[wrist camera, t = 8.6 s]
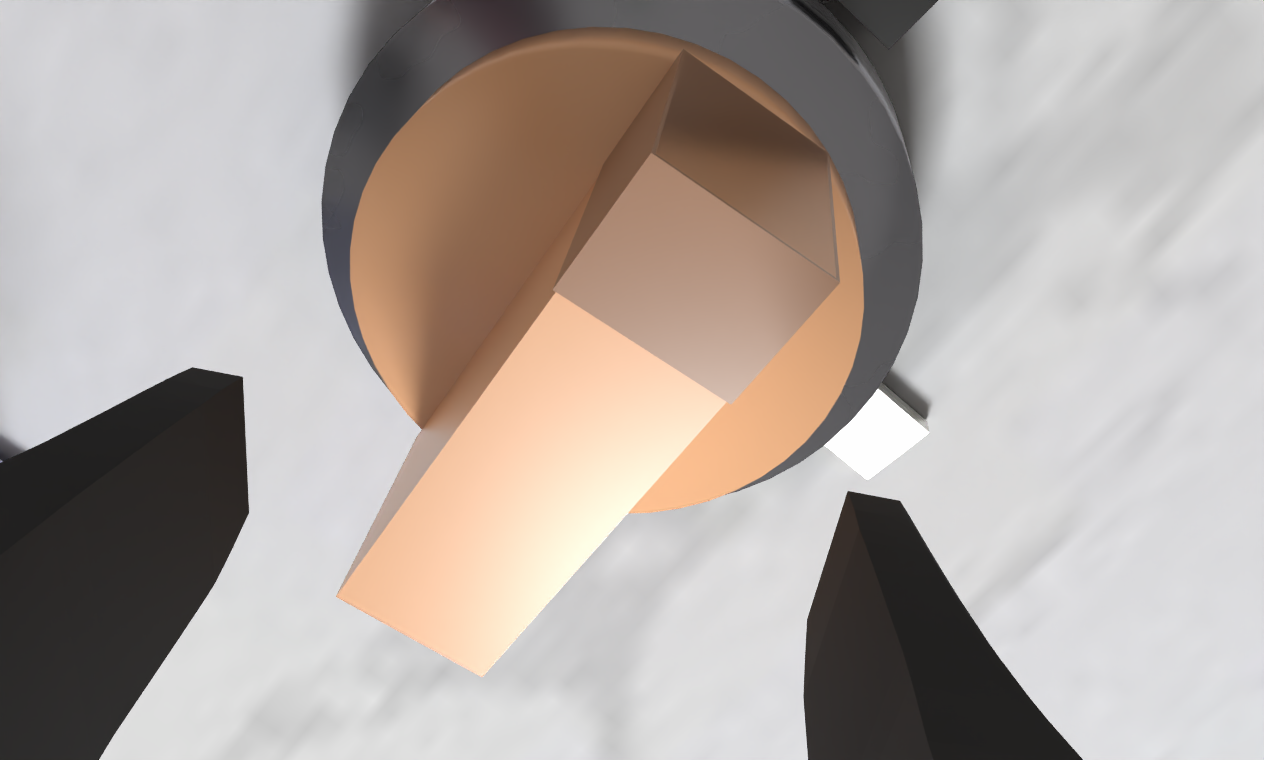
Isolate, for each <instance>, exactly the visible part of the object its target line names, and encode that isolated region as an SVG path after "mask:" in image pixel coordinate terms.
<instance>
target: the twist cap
mask: <svg viewBox="0 0 1264 760" xmlns="http://www.w3.org/2000/svg"><path fill="white" fill-rule="evenodd" d="M350 282H351V288H352V295H353V302H354V308H355V312H356V316H357V319H358V323H359V326H360V330H361V333H362V337H363V339H364V342H365V344H366V346H367V349H368V351H369V353H370V356H371V358H372V360H373V362H374V365H375V367H376V368H377V370H378V372H379V373H380V375H381V377H382V378H383V380H384V382H385V383H386V385H387V387H388V389H389V390H390V392H391V393H392V394H393V396H394V397H395V398H396V400H397V401H398V402H399V404H400V405H401V406H402V407H403V409H404V410H405V411H406V413H407V414H408V415H409V416H410V417H411V418H412V419H413V420H414V421H415V423H416V424H417V425H418V426H419V427H420V428H421V429H422V430H421V432H420V433H419V435H418V436H417V438H416V440H415V442H414V444H413V446H412V448H411V449H410V451H409V453H408V455H407V457H406V459H405V461H404V463H403V465H402V467H401V469H400V471H399V473H398V475H397V477H396V479H395V481H394V483H393V485H392V487H391V489H390V491H389V493H388V495H387V497H386V499H385V501H384V503H383V505H382V507H381V509H380V511H379V513H378V515H377V517H376V518H375V520H374V522H373V524H372V526H371V528H370V530H369V532H368V534H367V536H366V538H365V540H364V542H363V544H362V546H361V548H360V550H359V552H358V554H357V556H356V558H355V560H354V562H353V564H352V566H351V568H350V570H349V572H348V574H347V576H346V578H345V580H344V582H343V584H342V586H341V587H340V589H339V591H338V593H337V595H336V597H337V598H339V599H341V600H343V601H344V602H346V603H348V604H350V605H352V606H354V607H355V608H357V609H359V610H361V611H363V612H364V613H366V614H368V615H370V616H372V617H373V618H375V619H377V620H379V621H381V622H383V623H384V624H386V625H388V626H390V627H392V628H393V629H395V630H397V631H399V632H401V633H403V634H404V635H406V636H408V637H410V638H412V639H413V640H415V641H417V642H419V643H421V644H422V645H424V646H426V647H428V648H430V649H432V650H433V651H435V652H437V653H439V654H441V655H442V656H444V657H446V658H448V659H450V660H452V661H453V662H455V663H457V664H459V665H461V666H462V667H464V668H466V669H468V670H470V671H471V672H473V673H475V674H477V675H479V676H481V677H483V676H484V675H485V674H486V672H487V671H488V670H489V669H490V668H491V667H492V666H493V664H494V663H495V662H496V661H497V660H498V659H499V658H500V657H501V655H502V654H503V653H504V652H505V651H506V650H507V649H508V648H509V646H510V645H511V644H512V643H513V642H514V641H515V640H516V639H517V637H518V636H519V635H520V634H521V633H522V632H523V631H524V630H525V628H526V627H527V626H528V625H529V624H530V623H531V622H532V621H533V619H534V618H535V617H536V616H537V615H538V614H539V613H540V612H541V610H542V609H543V608H544V607H545V606H546V605H547V604H548V603H549V601H550V600H551V599H552V598H553V597H554V596H555V595H556V594H557V592H558V591H559V590H560V589H561V588H562V587H563V586H564V584H565V583H566V582H567V581H568V580H569V579H570V578H571V577H572V575H573V574H574V573H575V572H576V571H577V570H578V569H579V568H580V566H581V565H582V564H583V563H584V562H585V561H586V560H587V559H588V557H589V556H590V555H591V554H592V553H593V552H594V551H595V550H596V548H597V547H598V546H599V545H600V544H601V543H602V542H603V541H604V539H605V538H606V537H607V536H608V535H609V534H610V533H611V532H612V530H613V529H614V528H615V527H616V526H617V525H618V524H619V523H620V521H621V520H622V519H623V518H624V517H625V516H626V515H627V514H628V513H650V512H658V511H665V510H672V509H679V508H683V507H687V506H691V505H695V504H699V503H703V502H707V501H710V500H712V499H715V498H717V497H720V496H723V495H725V494H728V493H731V492H733V491H736V490H737V489H739V488H741V487H743V486H745V485H747V484H749V483H751V482H753V481H755V480H757V479H758V478H760V477H762V476H763V475H765V474H766V473H768V472H769V471H771V470H772V469H773V468H775V467H776V466H778V465H779V464H781V463H782V462H784V461H785V460H786V459H787V458H788V457H789V456H790V455H791V454H793V453H794V452H795V451H796V450H797V449H798V448H799V447H800V446H801V445H803V444H804V443H805V442H806V441H807V440H808V438H809V437H810V436H811V435H812V434H813V432H814V431H815V430H816V429H817V428H818V427H819V425H820V424H821V423H822V422H823V421H824V419H825V418H826V416H827V415H828V413H829V412H830V410H831V408H832V407H833V405H834V404H835V402H836V400H837V399H838V397H839V396H840V394H841V392H842V389H843V387H844V385H845V383H846V380H847V378H848V376H849V374H850V371H851V369H852V367H853V363H854V359H855V356H856V352H857V349H858V345H859V341H860V337H861V329H862V320H863V312H864V291H863V272H862V264H861V256H860V248H859V241H858V235H857V230H856V224H855V219H854V213H853V210H852V207H851V204H850V201H849V198H848V195H847V192H846V189H845V186H844V183H843V181H842V179H841V177H840V175H839V173H838V171H837V169H836V167H835V165H834V163H833V161H832V159H831V157H830V155H829V153H828V152H827V150H826V149H825V147H824V146H823V144H822V143H821V141H820V140H819V139H818V137H817V136H816V134H815V133H814V131H813V130H812V128H811V127H810V126H809V124H808V123H807V122H806V121H805V120H804V119H803V118H802V117H801V116H800V115H799V114H798V112H797V111H796V110H795V109H794V108H793V107H792V106H791V105H790V104H789V103H788V102H787V100H785V99H784V98H783V97H782V96H781V95H779V94H778V93H777V92H776V91H775V90H773V89H772V88H771V87H770V86H768V85H767V84H766V83H765V82H764V81H762V80H761V79H760V78H759V77H757V76H756V75H754V74H752V73H751V72H749V71H748V70H746V69H744V68H743V67H741V66H740V65H738V64H736V63H735V62H733V61H732V60H730V59H728V58H726V57H724V56H721V55H719V54H717V53H715V52H713V51H710V50H708V49H706V48H704V47H702V46H699V45H697V44H694V43H691V42H688V41H684V40H681V39H678V38H675V37H671V36H668V35H665V34H661V33H655V32H649V31H643V30H636V29H630V28H613V27H585V28H576V29H566V30H557V31H552V32H548V33H544V34H540V35H536V36H532V37H528V38H524V39H521V40H519V41H516V42H514V43H511V44H509V45H506V46H504V47H502V48H499V49H497V50H494V51H492V52H490V53H488V54H487V55H485V56H483V57H481V58H480V59H478V60H476V61H475V62H473V63H471V64H469V65H468V66H466V67H464V68H463V69H462V70H460V71H459V72H458V73H457V74H455V75H454V76H453V77H452V78H450V79H449V80H448V81H447V82H445V83H444V84H443V85H442V86H440V87H439V88H438V89H437V90H436V91H435V92H434V93H433V94H432V96H431V97H430V98H429V99H428V100H427V101H426V102H425V103H424V104H423V105H422V106H421V107H420V109H419V110H418V111H417V112H416V113H415V114H414V115H413V116H412V117H411V118H410V120H409V121H408V122H407V123H406V124H405V125H404V126H403V127H402V128H401V129H400V131H399V132H398V133H397V134H396V135H395V136H394V137H393V139H392V140H391V142H390V143H389V145H388V146H387V148H386V149H385V151H384V152H383V154H382V155H381V157H380V158H379V160H378V161H377V162H376V164H375V166H374V169H373V171H372V173H371V175H370V177H369V179H368V181H367V184H366V186H365V188H364V190H363V192H362V196H361V199H360V203H359V206H358V209H357V213H356V216H355V220H354V226H353V233H352V240H351V247H350Z"/></svg>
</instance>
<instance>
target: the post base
mask: <svg viewBox="0 0 1264 760" xmlns="http://www.w3.org/2000/svg"><path fill="white" fill-rule="evenodd" d="M838 1H839V2H840V3H841V4H842V5H844V6H845V7H846V8H847V9H848V10H849V11H850V12H851V13H852V14H853V15H854V16H855V17H856V18H857V19H858V20H859V21H860V22H861V23H862V24H863V25H864V26H865V27H866V28H867V29H868V30H869V31H870V32H871V33H872V34H873V35H874V36H875V37H876V38H877V39H878V40H879V41H880V42H881V43H882V44H884V45H885V46H886V47H887V48H888V49H890V48H891V47H892V46H893V45H894V44H895V43H896V42H897V41H898V40H899V39H900V38H901V37H902V36H903V35H904V34H905V33H906V32H907V31H908V30H909V29H910V28H911V27H912V26H913V25H914V24H915V23H916V22H917V21H918V20H919V19H920V18H921V17H922V16H923V15H924V14H925V13H926V12H927V11H928V10H929V9H930V8H931V7H932V6H933V5H934V4H935V3H936V2H937V1H938V0H838ZM585 27H613V28H630V29H636V30H643V31H649V32H655V33H661V34H665V35H668V36H671V37H675V38H678V39H681V40H684V41H688V42H691V43H694V44H697V45H699V46H702V47H704V48H706V49H708V50H710V51H713V52H715V53H717V54H719V55H721V56H724V57H726V58H728V59H730V60H732V61H733V62H735V63H736V64H738V65H740V66H741V67H743V68H744V69H746V70H748V71H749V72H751V73H752V74H754V75H756V76H757V77H759V78H760V79H761V80H762V81H764V82H765V83H766V84H767V85H768V86H770V87H771V88H772V89H773V90H775V91H776V92H777V93H778V94H779V95H781V96H782V97H783V98H784V99H785V100H787V102H788V103H789V104H790V105H791V106H792V107H793V108H794V109H795V110H796V111H797V112H798V114H799V115H800V116H801V117H802V118H803V119H804V120H805V121H806V122H807V123H808V124H809V126H810V127H811V128H812V130H813V131H814V133H815V134H816V136H817V137H818V139H819V140H820V141H821V143H822V144H823V146H824V147H825V149H826V150H827V152H828V153H829V155H830V157H831V159H832V161H833V163H834V165H835V167H836V169H837V171H838V173H839V175H840V177H841V179H842V181H843V183H844V186H845V189H846V192H847V195H848V198H849V201H850V204H851V207H852V210H853V213H854V219H855V224H856V230H857V235H858V241H859V248H860V256H861V264H862V272H863V291H864V312H863V320H862V329H861V337H860V341H859V345H858V349H857V352H856V356H855V359H854V363H853V367H852V369H851V371H850V374H849V376H848V378H847V380H846V383H845V385H844V387H843V389H842V392H841V394H840V396H839V397H838V399H837V400H836V402H835V404H834V405H833V407H832V408H831V410H830V412H829V413H828V415H827V416H826V418H825V419H824V421H823V422H822V423H821V424H820V425H819V427H818V428H817V429H816V430H815V431H814V432H813V434H812V435H811V436H810V437H809V438H808V440H807V441H806V442H805V443H804V444H803V445H801V446H800V447H799V448H798V449H797V450H796V451H795V452H794V453H793V454H791V455H790V456H789V457H788V458H787V459H786V460H785V461H784V462H782V463H781V464H779V465H778V466H776V467H775V468H773V469H772V470H771V471H769V472H768V473H766V474H765V475H763V476H762V477H760V478H758V479H757V480H755V481H753V482H751V483H749V484H747V485H745V486H743V487H741V488H739V489H737V490H736V491H733V492H737V491H740V490H742V489H745V488H747V487H750V486H753V485H755V484H758V483H760V482H763V481H765V480H768V479H770V478H772V477H774V476H776V475H778V474H779V473H781V472H783V471H785V470H787V469H789V468H791V467H793V466H794V465H796V464H798V463H800V462H801V461H803V460H804V459H806V458H807V457H808V456H810V455H811V454H813V453H814V452H815V451H817V450H818V449H820V448H821V447H823V446H824V445H825V446H827V447H828V448H829V449H830V450H831V451H833V452H834V453H835V454H836V455H837V456H839V457H840V458H841V459H842V460H844V461H845V462H846V463H847V464H848V465H850V466H851V467H852V468H853V469H854V470H856V471H857V472H858V473H859V474H861V475H862V476H863V477H864V478H865V479H867V480H868V479H870V478H871V477H872V476H874V475H875V474H876V473H877V472H879V471H880V470H881V469H883V468H884V467H885V466H887V465H888V464H889V463H891V462H892V461H893V460H894V459H896V458H897V457H898V456H900V455H901V454H902V453H904V452H905V451H906V450H908V449H909V448H910V447H911V446H913V445H914V444H915V443H917V442H918V441H919V440H921V439H922V438H923V437H925V436H926V435H927V434H928V433H929V429H928V423H927V421H926V420H925V419H924V418H923V417H921V416H920V415H919V414H918V413H917V412H916V411H914V410H913V409H912V408H911V407H910V406H909V405H908V404H906V403H905V402H904V401H903V400H902V399H901V398H899V397H898V396H897V395H896V394H895V393H894V392H892V391H891V390H890V389H889V388H888V387H887V386H885V385H884V384H883V383H882V381H883V380H884V378H885V377H886V375H887V373H888V372H889V370H890V369H891V367H892V365H893V364H894V361H895V359H896V357H897V355H898V353H899V350H900V348H901V346H902V344H903V341H904V339H905V337H906V335H907V332H908V329H909V326H910V322H911V319H912V315H913V312H914V308H915V305H916V301H917V298H918V291H919V283H920V276H921V268H922V261H923V259H922V220H921V214H920V208H919V202H918V195H917V189H916V184H915V180H914V176H913V172H912V168H911V164H910V161H909V157H908V153H907V149H906V145H905V141H904V138H903V135H902V132H901V129H900V126H899V122H898V119H897V116H896V113H895V110H894V107H893V104H892V102H891V100H890V98H889V96H888V94H887V92H886V90H885V88H884V86H883V84H882V81H881V79H880V77H879V75H878V73H877V71H876V70H875V68H874V67H873V65H872V64H871V62H870V61H869V59H868V58H867V56H866V55H865V53H864V52H863V50H862V49H861V47H860V46H859V44H858V43H857V41H856V40H855V39H854V38H853V36H852V35H851V34H850V33H849V32H848V31H847V30H846V29H845V28H844V26H843V25H842V24H841V23H840V22H839V21H838V20H837V19H836V17H835V16H834V15H833V14H832V13H831V12H830V11H829V10H828V9H827V8H826V7H825V6H824V5H822V4H821V3H820V2H819V1H818V0H433V1H432V2H431V3H430V4H429V5H427V6H426V7H425V8H424V9H423V10H422V11H420V12H419V13H418V14H417V15H416V16H415V17H414V18H412V19H411V20H410V21H409V22H408V23H407V24H406V25H404V26H403V27H402V28H401V29H400V30H399V31H398V32H396V33H395V34H394V35H393V36H392V38H391V39H390V40H389V41H388V42H387V44H386V45H385V46H384V47H383V48H382V49H381V51H380V52H379V53H378V54H377V55H376V57H375V58H374V59H373V60H372V61H371V63H370V64H369V65H368V67H367V68H366V70H365V72H364V73H363V75H362V77H361V78H360V80H359V81H358V83H357V85H356V86H355V88H354V90H353V91H352V93H351V94H350V96H349V98H348V100H347V103H346V105H345V108H344V110H343V112H342V115H341V117H340V119H339V122H338V124H337V127H336V129H335V131H334V135H333V139H332V143H331V147H330V151H329V155H328V159H327V163H326V167H325V176H324V185H323V195H322V227H323V242H324V247H325V253H326V259H327V265H328V271H329V275H330V278H331V281H332V284H333V288H334V291H335V294H336V297H337V301H338V304H339V307H340V309H341V311H342V313H343V316H344V318H345V320H346V322H347V324H348V327H349V329H350V331H351V333H352V335H353V338H354V339H355V341H356V343H357V344H358V346H359V348H360V349H361V351H362V353H363V354H364V356H365V357H366V359H367V361H368V362H369V364H370V366H371V367H372V369H373V370H374V371H375V373H376V374H377V375H378V376H379V378H380V379H381V380H382V382H383V383H384V384H385V385H386V383H385V382H384V380H383V378H382V377H381V375H380V373H379V372H378V370H377V368H376V367H375V365H374V362H373V360H372V358H371V356H370V353H369V351H368V349H367V346H366V344H365V342H364V339H363V337H362V333H361V330H360V326H359V323H358V319H357V316H356V312H355V308H354V302H353V295H352V288H351V282H350V247H351V240H352V233H353V226H354V220H355V216H356V213H357V209H358V206H359V203H360V199H361V196H362V192H363V190H364V188H365V186H366V184H367V181H368V179H369V177H370V175H371V173H372V171H373V169H374V166H375V164H376V162H377V161H378V160H379V158H380V157H381V155H382V154H383V152H384V151H385V149H386V148H387V146H388V145H389V143H390V142H391V140H392V139H393V137H394V136H395V135H396V134H397V133H398V132H399V131H400V129H401V128H402V127H403V126H404V125H405V124H406V123H407V122H408V121H409V120H410V118H411V117H412V116H413V115H414V114H415V113H416V112H417V111H418V110H419V109H420V107H421V106H422V105H423V104H424V103H425V102H426V101H427V100H428V99H429V98H430V97H431V96H432V94H433V93H434V92H435V91H436V90H437V89H438V88H439V87H440V86H442V85H443V84H444V83H445V82H447V81H448V80H449V79H450V78H452V77H453V76H454V75H455V74H457V73H458V72H459V71H460V70H462V69H463V68H464V67H466V66H468V65H469V64H471V63H473V62H475V61H476V60H478V59H480V58H481V57H483V56H485V55H487V54H488V53H490V52H492V51H494V50H497V49H499V48H502V47H504V46H506V45H509V44H511V43H514V42H516V41H519V40H521V39H524V38H528V37H532V36H536V35H540V34H544V33H548V32H552V31H557V30H566V29H576V28H585ZM386 387H387V385H386ZM387 388H388V387H387ZM389 391H390V390H389ZM733 492H731V493H733ZM728 494H729V493H728ZM725 495H726V494H725Z"/></svg>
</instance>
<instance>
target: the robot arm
mask: <svg viewBox="0 0 1264 760" xmlns="http://www.w3.org/2000/svg"><path fill="white" fill-rule="evenodd" d="M248 514H249V504H248V482H247V460H246V438H245V416H244V394H243V377H240V376H235V375H230V374H224V373H219V372H214V371H208V370H203V369H198V368H193V367H192V368H190V369H188V370H186V371H183V372H181V373H179V374H177V375H175V376H173V377H171V378H169V379H166V380H165V381H163V382H161V383H159V384H157V385H155V386H153V387H151V388H149V389H147V390H145V391H143V392H141V393H139V394H137V395H135V396H133V397H132V398H130V399H128V400H126V401H124V402H122V403H120V404H118V405H116V406H114V407H112V408H111V409H109V410H107V411H105V412H103V413H101V414H99V415H97V416H95V417H93V418H91V419H89V420H87V421H85V422H83V423H81V424H79V425H77V426H75V427H73V428H72V429H70V430H68V431H66V432H64V433H62V434H60V435H58V436H56V437H54V438H52V439H50V440H48V441H46V442H44V443H42V444H40V445H38V446H36V447H33V448H31V449H29V450H27V451H25V452H23V453H20V454H18V455H16V456H14V457H12V458H10V459H7V460H5V461H2V460H0V760H99V759H100V757H101V755H102V754H103V752H104V750H105V749H106V747H107V745H108V744H109V742H110V741H111V739H112V737H113V736H114V734H115V733H116V731H117V730H118V728H119V727H120V725H121V724H122V722H123V721H124V719H125V718H126V716H127V715H128V713H129V712H130V710H131V709H132V707H133V706H134V704H135V703H136V701H137V700H138V698H139V697H140V695H141V694H142V692H143V691H144V689H145V688H146V686H147V685H148V683H149V682H150V681H151V679H152V678H153V676H154V675H155V673H156V672H157V670H158V669H159V667H160V666H161V664H162V663H163V661H164V660H165V658H166V657H167V655H168V654H169V652H170V651H171V649H172V648H173V646H174V645H175V643H176V642H177V640H178V639H179V637H180V636H181V634H182V633H183V631H184V630H185V628H186V627H187V625H188V624H189V622H190V621H191V619H192V618H193V616H194V615H195V613H196V612H197V610H198V609H199V607H200V606H201V604H202V603H203V601H204V600H205V598H206V596H207V595H208V593H209V592H210V590H211V589H212V587H213V586H214V584H215V582H216V580H217V578H218V576H219V574H220V572H221V570H222V568H223V566H224V564H225V562H226V560H227V558H228V556H229V554H230V552H231V550H232V548H233V546H234V544H235V542H236V539H237V537H238V535H239V533H240V531H241V529H242V527H243V524H244V522H245V520H246V518H247V516H248ZM804 709H805V723H806V736H807V749H808V760H1083V759H1082V758H1081V757H1080V756H1079V755H1078V754H1077V753H1076V751H1075V750H1074V749H1073V748H1072V747H1071V746H1070V745H1069V744H1068V742H1067V741H1066V740H1065V739H1064V738H1063V737H1062V736H1061V734H1060V733H1059V732H1058V731H1057V730H1056V729H1055V728H1054V727H1053V725H1052V724H1051V723H1050V722H1049V721H1048V720H1047V719H1046V717H1045V716H1044V715H1043V714H1042V712H1041V711H1040V710H1039V709H1038V708H1037V706H1036V705H1035V704H1034V703H1033V701H1032V700H1031V699H1030V698H1029V696H1028V695H1027V694H1026V693H1025V691H1024V690H1023V689H1022V687H1021V686H1020V685H1019V683H1018V682H1017V681H1016V679H1015V678H1014V677H1013V675H1012V674H1011V673H1010V671H1009V670H1008V669H1007V667H1006V666H1005V665H1004V664H1003V662H1002V661H1001V660H1000V658H999V657H998V655H997V654H996V653H995V651H994V650H993V648H992V647H991V646H990V644H989V643H988V641H987V640H986V638H985V637H984V635H983V634H982V632H981V631H980V629H979V628H978V626H977V625H976V623H975V622H974V620H973V619H972V617H971V616H970V614H969V613H968V611H967V610H966V608H965V607H964V605H963V604H962V602H961V601H960V599H959V597H958V596H957V594H956V593H955V591H954V589H953V588H952V586H951V585H950V583H949V581H948V580H947V578H946V577H945V575H944V573H943V572H942V570H941V568H940V567H939V565H938V563H937V562H936V560H935V558H934V557H933V555H932V553H931V552H930V550H929V548H928V547H927V545H926V543H925V542H924V540H923V538H922V536H921V535H920V533H919V531H918V530H917V528H916V526H915V525H914V523H913V521H912V520H911V518H910V516H909V515H908V513H907V511H906V510H905V508H904V507H903V505H902V503H901V502H900V501H898V500H892V499H887V498H882V497H876V496H871V495H866V494H861V493H855V492H850V491H848V492H847V495H846V499H845V502H844V505H843V508H842V511H841V514H840V518H839V521H838V524H837V527H836V530H835V533H834V537H833V540H832V543H831V546H830V549H829V552H828V555H827V559H826V562H825V565H824V568H823V571H822V574H821V578H820V581H819V584H818V587H817V590H816V593H815V597H814V600H813V603H812V606H811V609H810V612H809V616H808V619H807V634H806V652H805V674H804Z"/></svg>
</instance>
